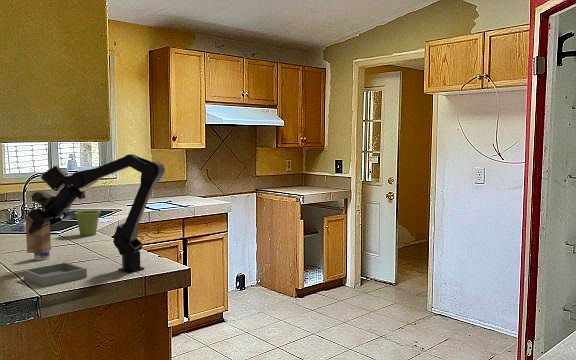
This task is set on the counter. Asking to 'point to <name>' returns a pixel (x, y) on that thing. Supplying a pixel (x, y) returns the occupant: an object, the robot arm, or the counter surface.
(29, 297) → the counter surface
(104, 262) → the counter surface
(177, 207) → the counter surface
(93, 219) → the plant pot
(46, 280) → the box
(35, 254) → the pill bottle
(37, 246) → the walnut block
